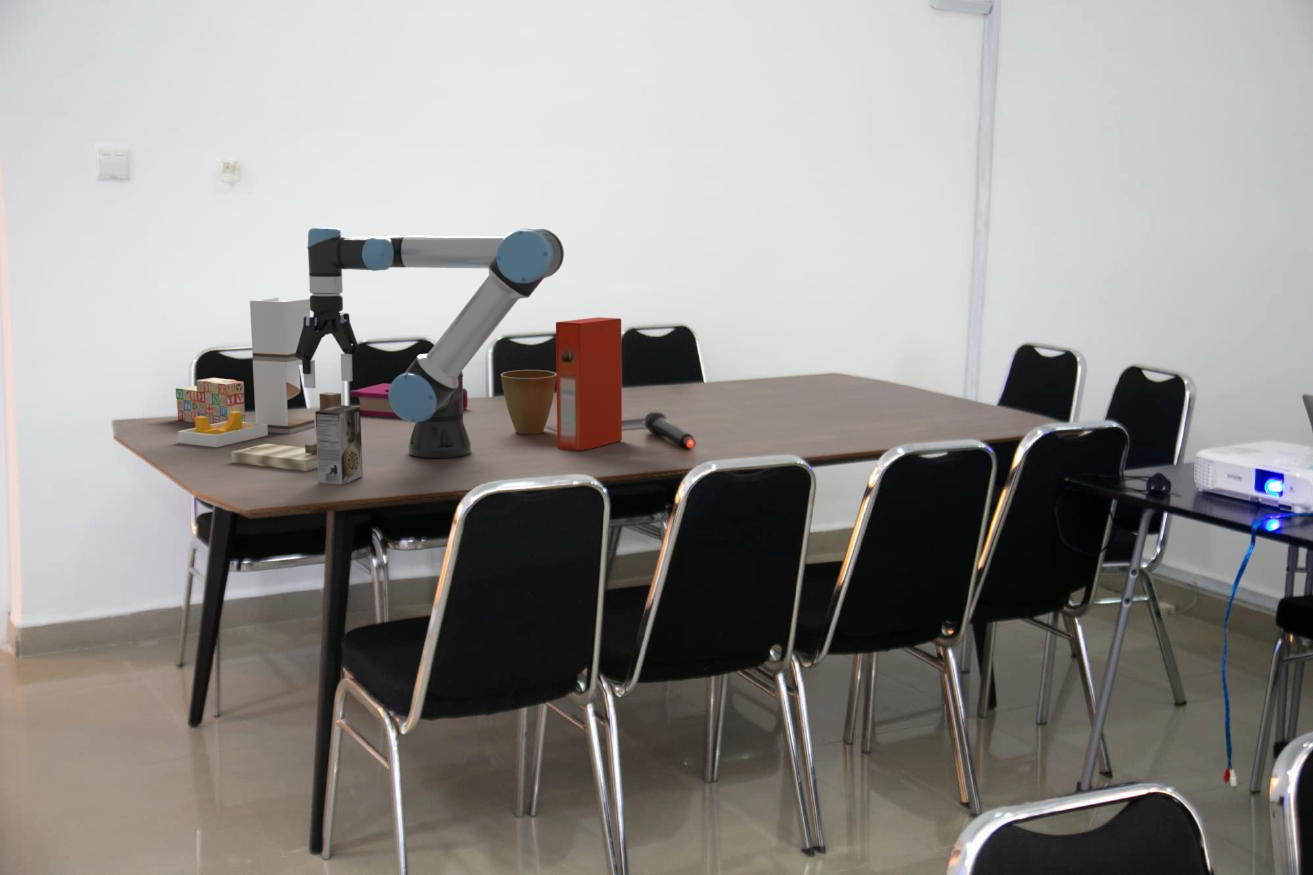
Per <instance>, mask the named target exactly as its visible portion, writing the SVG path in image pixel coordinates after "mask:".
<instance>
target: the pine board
mask: <svg viewBox="0 0 1313 875" xmlns="http://www.w3.org/2000/svg"><path fill="white" fill-rule="evenodd" d="M230 454H231V463H233V464H234V463H235V464H243V465H253V466H258V467H259V466H261V467H268V468H279V469H284V470H294V471H302V472H308V471H310V470H315V469H318V462H317V453H314V454H309V453H305V447H302V446H301V447H300V446H293V445H292V446H291V445H283V444H276V443H275V444H273V443H263V444H259V445H254V446H251V447H246V448H243V449H238V450H234V451H231V452H230Z"/></svg>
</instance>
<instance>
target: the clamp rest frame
mask: <svg viewBox="0 0 1313 875" xmlns="http://www.w3.org/2000/svg"><path fill="white" fill-rule="evenodd" d="M226 422H227V421H226ZM226 422H221V423H216V424H211V425H210V426H211V427H212V428H214V429H219V428H221V427H223V426H224V425H225V424H226ZM268 433H269V432H268V430H267V424H260V423H256V422H250V421H249V422H247V421H245V422H242V429H240V430H235V431H230V432H226V433H221V434H217V435H214V434H205V433H196V427H193V428H186V429H183V430H178V431H177V437H178V444H185V445H192V446H193V445H194V446H203V447H211V448H212V447H213V448H220V447H225V446H227V445H233V444H237V443H241V442H245V441H251V440H254V439H258V438H262V437H267V436H269V434H268Z"/></svg>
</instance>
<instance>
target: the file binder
mask: <svg viewBox="0 0 1313 875" xmlns="http://www.w3.org/2000/svg"><path fill="white" fill-rule="evenodd" d="M555 347H556V348H555V351H556V352H555V353H556V354H555V356H556V357H555V359H556V361H555V362H556V365H555V366H556V369H555V370H556V372H555V373H556V431H557V436H556V439H557V440H556V442H557V444H556V445H557V448H558V449H561V450H569V451H574V452H575V451H578V452H582V451H586V450H590V449H594V448H598V447H602V446H607V445H610V444H614V443H618V442H621V441H622V439H623V437H622V436H623V435H622V434H623V433H622V432H623V431H622V430H623V427H622V426H623V423H622V420H623V418H622V417H623V414H622V413H623V412H622V408H623V407H622V402H623V400H622V399H623V398H622V397H623V396H622V389H623V388H622V381H623V379H622V375H623V374H622V319H621V318H617V317H616V318H615V317H600V316H599V317H598V316H597V317H596V316H595V317H589V318H582V319H579V318H578V319H572V320H564V321H557V322H555Z"/></svg>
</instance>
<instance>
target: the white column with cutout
mask: <svg viewBox="0 0 1313 875" xmlns="http://www.w3.org/2000/svg"><path fill="white" fill-rule="evenodd" d="M249 308H250V311H249V315H250V327H251V328H250V330H251V332H250V333H251V348H252V349H251V350H252V369H253V370H252V373H253V374H252V375H253V388H254V389H253V391H254V392H253V393H254V414H255V415H254V416H255V423H260V424H267V430H268V433H274V434H275V433H276V434H289V435H291V434H295V433H298V432H299V433H300V432H302V431H306V430H309V429H312V428H316V421H315V419H311V418H310V419H309V418H297V417H289V416H288V400H291V399H293V398H294V397H296V396H297V395H299V394H300V392H301V379H300V378H301V377H300V376H301V375H300V366H302V360H300V359H298V358H296V357H295V353H296V350H297V346H298V343H299V339H300V336H301V332H302V329H303V320H304V317H311V310H310V298H302V299H294V300H279V297H270V298H261V299H252V300H251V299H250V301H249ZM301 353H302V352H301Z"/></svg>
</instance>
